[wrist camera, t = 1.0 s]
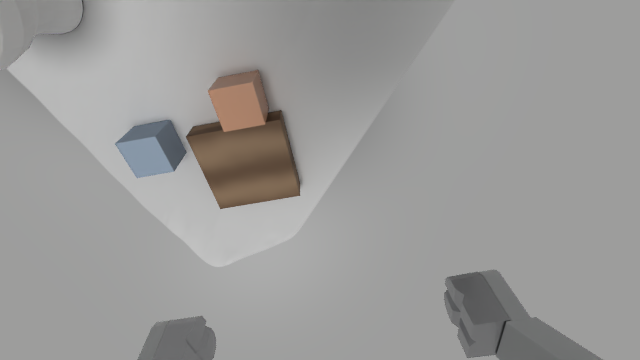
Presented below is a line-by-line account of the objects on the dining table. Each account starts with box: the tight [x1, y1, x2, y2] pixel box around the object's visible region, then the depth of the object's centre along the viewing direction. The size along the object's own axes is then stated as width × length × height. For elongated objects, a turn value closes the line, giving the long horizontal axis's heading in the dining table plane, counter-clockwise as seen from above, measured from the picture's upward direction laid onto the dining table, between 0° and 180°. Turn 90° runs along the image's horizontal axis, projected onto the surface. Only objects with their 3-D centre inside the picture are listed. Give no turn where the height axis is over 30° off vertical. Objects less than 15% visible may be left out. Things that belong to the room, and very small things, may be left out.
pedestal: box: [186, 111, 300, 209], centre depth 42 cm, size 12×12×3 cm
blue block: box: [115, 120, 186, 178], centre depth 39 cm, size 5×5×5 cm
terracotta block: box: [208, 70, 269, 132], centre depth 36 cm, size 5×5×5 cm
